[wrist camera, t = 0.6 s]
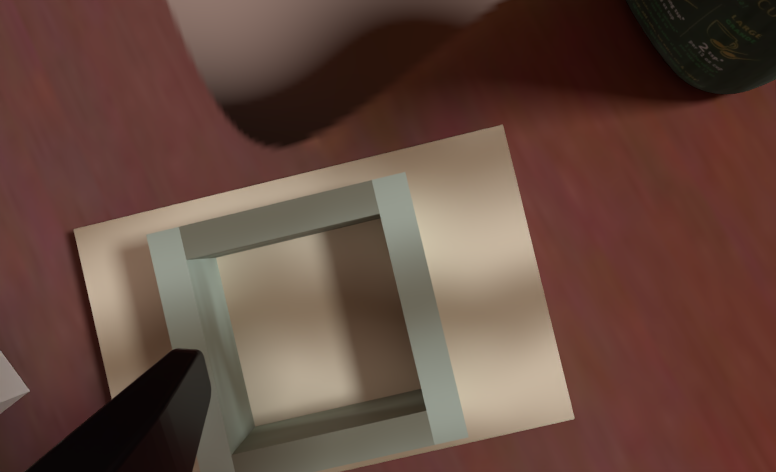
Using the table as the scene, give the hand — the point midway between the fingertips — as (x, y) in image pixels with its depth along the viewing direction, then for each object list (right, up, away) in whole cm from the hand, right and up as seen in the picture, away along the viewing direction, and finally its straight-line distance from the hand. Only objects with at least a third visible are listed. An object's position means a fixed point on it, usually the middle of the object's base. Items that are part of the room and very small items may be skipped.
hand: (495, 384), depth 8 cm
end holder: (-4, -1, +15) cm, 16 cm away
